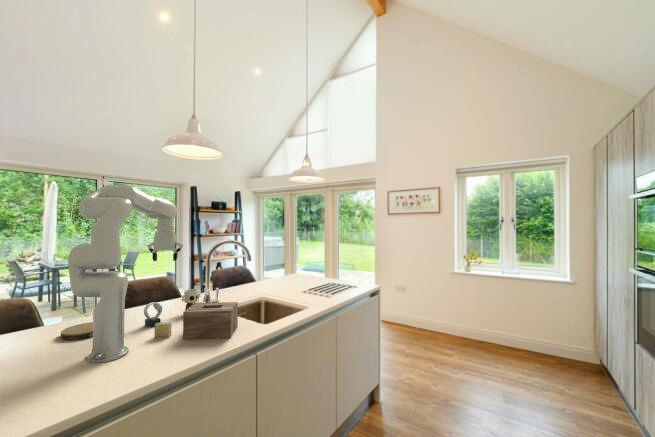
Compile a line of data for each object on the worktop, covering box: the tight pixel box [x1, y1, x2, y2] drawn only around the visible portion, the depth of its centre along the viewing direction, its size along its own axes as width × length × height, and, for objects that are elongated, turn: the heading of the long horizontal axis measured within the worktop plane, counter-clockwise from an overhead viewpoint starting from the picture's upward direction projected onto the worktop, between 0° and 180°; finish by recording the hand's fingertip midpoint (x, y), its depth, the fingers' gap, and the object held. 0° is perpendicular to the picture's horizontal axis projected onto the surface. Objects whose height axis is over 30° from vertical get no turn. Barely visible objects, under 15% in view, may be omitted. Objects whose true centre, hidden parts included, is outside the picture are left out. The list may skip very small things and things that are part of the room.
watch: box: [143, 301, 163, 328], centre depth 142 cm, size 6×8×11 cm
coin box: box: [182, 301, 239, 341], centre depth 132 cm, size 14×20×12 cm
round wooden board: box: [60, 321, 93, 342], centre depth 131 cm, size 16×16×3 cm
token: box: [153, 321, 173, 339], centre depth 127 cm, size 2×6×6 cm, turn 96°
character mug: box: [181, 288, 201, 311], centre depth 160 cm, size 11×7×13 cm, turn 148°
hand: (165, 260), depth 153 cm, fingers open, 9 cm apart
